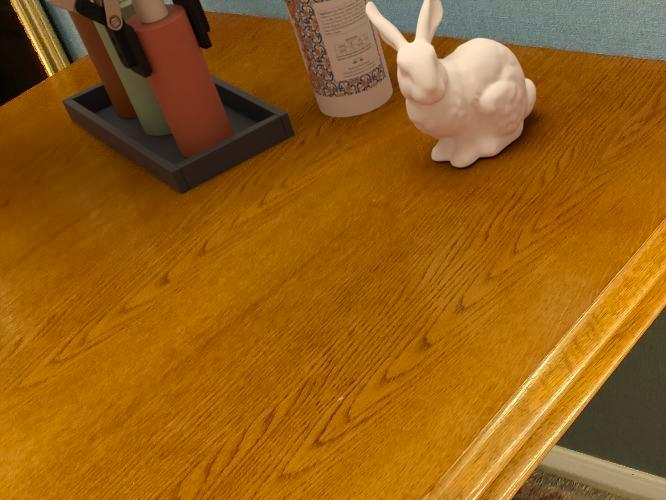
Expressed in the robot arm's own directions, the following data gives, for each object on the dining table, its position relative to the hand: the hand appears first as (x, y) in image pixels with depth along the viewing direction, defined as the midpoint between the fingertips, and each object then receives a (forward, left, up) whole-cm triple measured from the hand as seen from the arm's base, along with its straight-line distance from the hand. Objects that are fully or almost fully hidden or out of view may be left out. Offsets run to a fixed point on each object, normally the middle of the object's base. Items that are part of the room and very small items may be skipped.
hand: (170, 56), depth 84 cm
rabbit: (+14, -20, -9) cm, 26 cm away
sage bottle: (0, +8, -8) cm, 11 cm away
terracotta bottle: (0, 0, -8) cm, 8 cm away
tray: (0, +6, -9) cm, 11 cm away
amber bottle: (0, +14, -8) cm, 16 cm away
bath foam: (+13, -5, -9) cm, 16 cm away
